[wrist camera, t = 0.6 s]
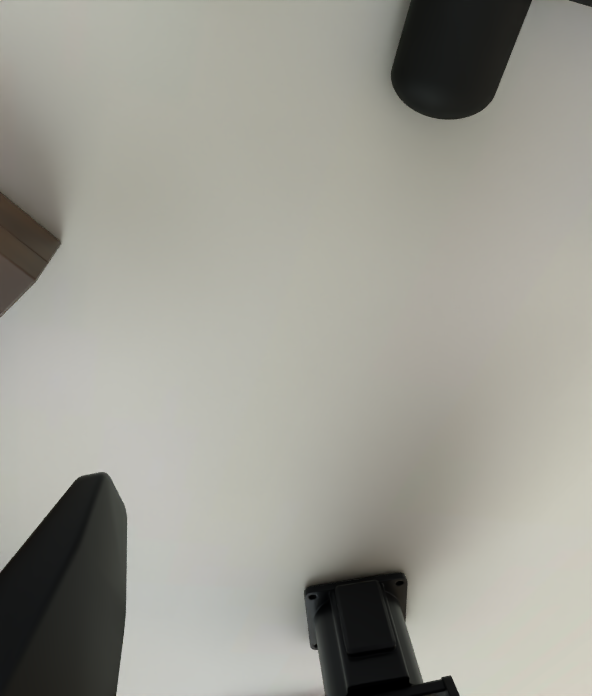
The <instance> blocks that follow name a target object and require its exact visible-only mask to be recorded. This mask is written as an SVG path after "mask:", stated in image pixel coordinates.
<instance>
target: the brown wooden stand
mask: <svg viewBox="0 0 592 696" xmlns="http://www.w3.org/2000/svg"><path fill="white" fill-rule="evenodd" d="M60 245H61V242H60V241H59V240H58V239H57V238H56V237H54V236H53V235H52V234H51V233H49V232H48V231H47V230H46V229H45V228H43V227H42V226H41V225H40V224H38V223H37V222H36V221H35V220H34V219H32V218H31V217H30V216H29V215H27V214H26V213H25V212H24V211H23V210H21V209H20V208H19V207H18V206H16V205H15V204H14V203H13V202H12V201H10V200H9V199H8V198H7V197H5V196H4V195H3V194H2V193H1V192H0V317H1V316H2V315H3V314H4V313H5V312H6V311H7V310H8V309H9V308H10V307H11V306H12V305H13V304H14V303H15V302H16V301H17V300H18V299H19V298H20V297H21V296H22V295H23V294H24V293H25V292H26V291H27V290H28V289H29V288H30V287H31V286H32V285H33V284H34V283H35V282H36V281H37V279H38V278H39V276H40V275H41V273H42V272H43V270H44V269H45V267H46V266H47V264H48V263H49V261H50V260H51V258H52V257H53V255H54V254H55V252H56V251H57V249H58V248H59V246H60Z"/></svg>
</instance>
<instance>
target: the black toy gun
mask: <svg viewBox="0 0 592 696" xmlns="http://www.w3.org/2000/svg"><path fill="white" fill-rule="evenodd" d="M531 1H532V0H411V4H410V7H409V10H408V14H407V17H406V21H405V24H404V28H403V31H402V35H401V38H400V42H399V45H398V49H397V52H396V56H395V59H394V63H393V66H392V70H391V80H392V85H393V88H394V90H395V92H396V93H397V95H398V96H399V98H400V99H401V100H402V101H403V102H404V103H405V104H406V105H407V106H409V107H410V108H412V109H413V110H415V111H417V112H419V113H421V114H423V115H426V116H429V117H432V118H437V119H461V118H465V117H469V116H471V115H474V114H476V113H478V112H480V111H481V110H483V109H484V108H485V107H486V106H487V105H488V104H489V103H490V102H491V101H492V99H493V98H494V96H495V93H496V91H497V88H498V86H499V83H500V81H501V78H502V75H503V73H504V70H505V68H506V65H507V63H508V60H509V58H510V55H511V52H512V50H513V47H514V45H515V42H516V40H517V37H518V35H519V32H520V29H521V27H522V24H523V22H524V19H525V17H526V14H527V12H528V9H529V6H530V4H531ZM570 1H573V2H577V3H580V4H583V5H587V6H590V7H592V0H570Z"/></svg>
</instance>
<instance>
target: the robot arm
mask: <svg viewBox="0 0 592 696" xmlns="http://www.w3.org/2000/svg"><path fill="white" fill-rule="evenodd" d="M126 569H127V514H126V509H125V506H124V503H123V501H122V499H121V498H120V496H119V494H118V492H117V490H116V488H115V486H114V484H113V482H112V480H111V478H110V476H109V475H108V474H107V473H105V472H100V473H94V474H89V475H84V476H81V477H79V478H78V479H76V480H75V481H74V483H73V484H72V485H71V486H70V488H69V489H68V490H67V491H66V493H65V494H64V495H63V496H62V497H61V499H60V500H59V501H58V502H57V504H56V505H55V506H54V507H53V508H52V510H51V511H50V512H49V513H48V515H47V516H46V517H45V518H44V520H43V521H42V522H41V523H40V524H39V526H38V527H37V528H36V529H35V531H34V532H33V533H32V534H31V536H30V537H29V538H28V539H27V540H26V542H25V543H24V544H23V545H22V547H21V548H20V549H19V550H18V552H17V553H16V554H15V555H14V556H13V558H12V559H11V560H10V561H9V563H8V564H7V565H6V566H5V568H4V569H3V570H2V571H1V572H0V696H116V692H117V684H118V676H119V668H120V660H121V652H122V644H123V636H124V626H125V616H126ZM304 597H305V606H306V614H307V622H308V631H309V639H310V646H311V648H312V649H314V650H318V652H319V659H320V665H321V672H322V678H323V684H324V691H325V696H460V695H459V693H458V691H457V688H456V686H455V684H454V681H453V679H452V677H451V675H450V676H446V677H442V678H441V679H440V680H435V681H431V682H426V683H423V680H422V676H421V673H420V670H419V667H418V663H417V660H416V657H415V653H414V650H413V647H412V644H411V640H410V637H409V634H408V630H407V627H406V624H405V619H406V599H407V579H406V576H405V574H404V573H393V574H387V575H380V576H374V577H368V578H362V579H355V580H349V581H343V582H336V583H330V584H324V585H317V586H311V587H308V588H306V589H305V590H304Z"/></svg>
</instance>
